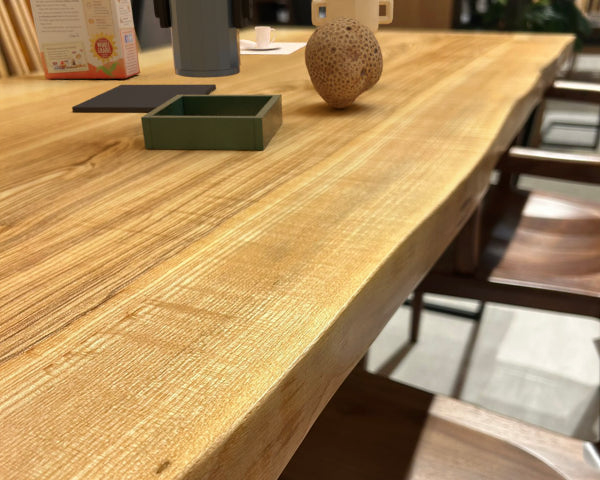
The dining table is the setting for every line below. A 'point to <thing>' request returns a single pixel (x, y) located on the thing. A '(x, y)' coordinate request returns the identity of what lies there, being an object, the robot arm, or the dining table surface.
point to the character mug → (354, 12)
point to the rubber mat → (139, 97)
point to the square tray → (213, 122)
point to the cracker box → (86, 38)
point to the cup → (204, 38)
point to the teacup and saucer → (267, 44)
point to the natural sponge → (343, 61)
